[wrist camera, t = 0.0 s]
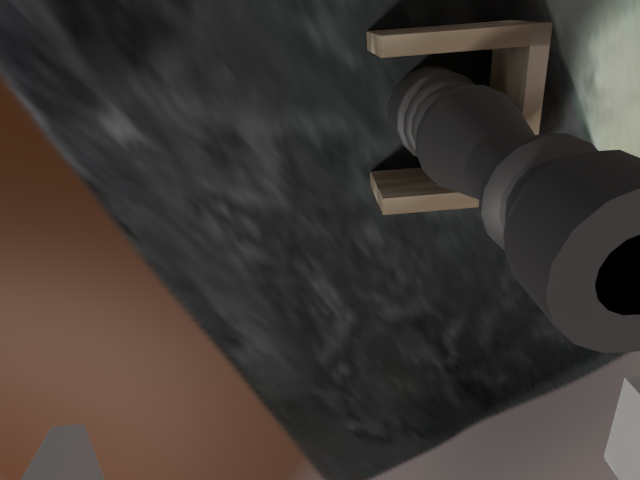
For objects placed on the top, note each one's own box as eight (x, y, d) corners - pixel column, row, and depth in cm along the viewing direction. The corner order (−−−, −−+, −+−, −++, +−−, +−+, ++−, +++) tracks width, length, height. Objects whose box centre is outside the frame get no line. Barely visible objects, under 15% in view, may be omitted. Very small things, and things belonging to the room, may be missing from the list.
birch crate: (366, 31, 34) (380, 36, 29) (511, 19, 34) (552, 22, 29) (370, 185, 39) (383, 214, 34) (497, 175, 39) (529, 202, 34)
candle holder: (371, 99, 36) (500, 256, 14) (444, 47, 35) (720, 123, 12) (414, 164, 38) (585, 391, 16) (484, 117, 37) (778, 291, 14)
